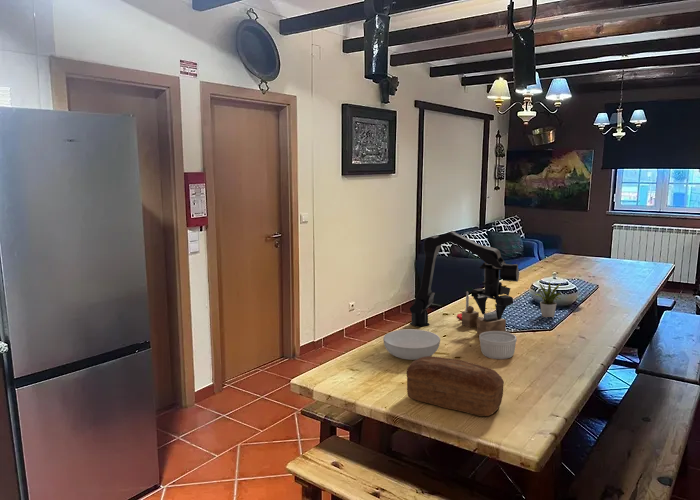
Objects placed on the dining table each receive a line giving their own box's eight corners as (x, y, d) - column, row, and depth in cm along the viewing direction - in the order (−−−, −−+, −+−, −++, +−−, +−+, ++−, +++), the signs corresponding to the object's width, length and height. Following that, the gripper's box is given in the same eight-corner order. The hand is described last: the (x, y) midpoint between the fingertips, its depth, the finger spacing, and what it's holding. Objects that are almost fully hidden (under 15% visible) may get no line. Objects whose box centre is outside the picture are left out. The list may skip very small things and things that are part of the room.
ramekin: (471, 351, 198) (471, 333, 196) (500, 346, 203) (500, 328, 201) (494, 363, 185) (494, 344, 184) (524, 357, 191) (524, 338, 189)
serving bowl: (403, 370, 182) (403, 351, 181) (373, 352, 200) (372, 334, 199) (452, 358, 191) (452, 340, 190) (418, 342, 210) (418, 325, 208)
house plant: (527, 319, 235) (528, 283, 232) (529, 310, 247) (530, 276, 245) (561, 321, 229) (563, 285, 227) (562, 313, 242) (563, 278, 239)
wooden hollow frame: (488, 337, 212) (489, 316, 211) (458, 325, 229) (458, 306, 227) (505, 333, 216) (505, 313, 215) (474, 322, 233) (474, 303, 231)
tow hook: (456, 315, 246) (457, 320, 237) (456, 288, 244) (457, 292, 235) (475, 315, 244) (476, 320, 235) (475, 288, 243) (477, 292, 234)
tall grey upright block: (487, 329, 215) (487, 315, 214) (483, 327, 217) (483, 313, 216) (498, 326, 217) (498, 312, 216) (494, 325, 219) (494, 311, 218)
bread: (420, 384, 170) (420, 348, 168) (507, 403, 155) (508, 364, 153) (400, 401, 159) (399, 362, 157) (492, 423, 144) (493, 381, 142)
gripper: (523, 281, 209) (522, 319, 212) (490, 273, 225) (490, 308, 228) (502, 285, 204) (502, 323, 207) (470, 276, 220) (470, 312, 223)
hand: (491, 316), depth 216 cm, fingers open, 9 cm apart
